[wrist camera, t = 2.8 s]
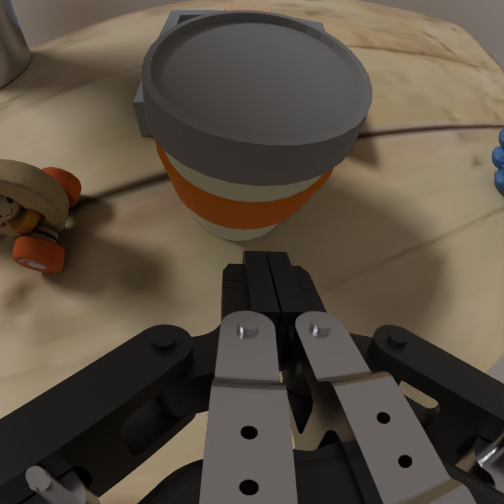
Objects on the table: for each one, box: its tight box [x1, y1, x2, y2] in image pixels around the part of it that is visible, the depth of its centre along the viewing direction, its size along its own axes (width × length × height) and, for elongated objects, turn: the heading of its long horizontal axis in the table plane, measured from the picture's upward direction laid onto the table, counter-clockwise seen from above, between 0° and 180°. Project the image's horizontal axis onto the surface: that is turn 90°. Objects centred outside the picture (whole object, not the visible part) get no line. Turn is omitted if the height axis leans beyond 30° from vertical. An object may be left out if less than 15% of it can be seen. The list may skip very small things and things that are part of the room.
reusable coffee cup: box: [142, 10, 372, 241], centre depth 21 cm, size 13×12×15 cm
